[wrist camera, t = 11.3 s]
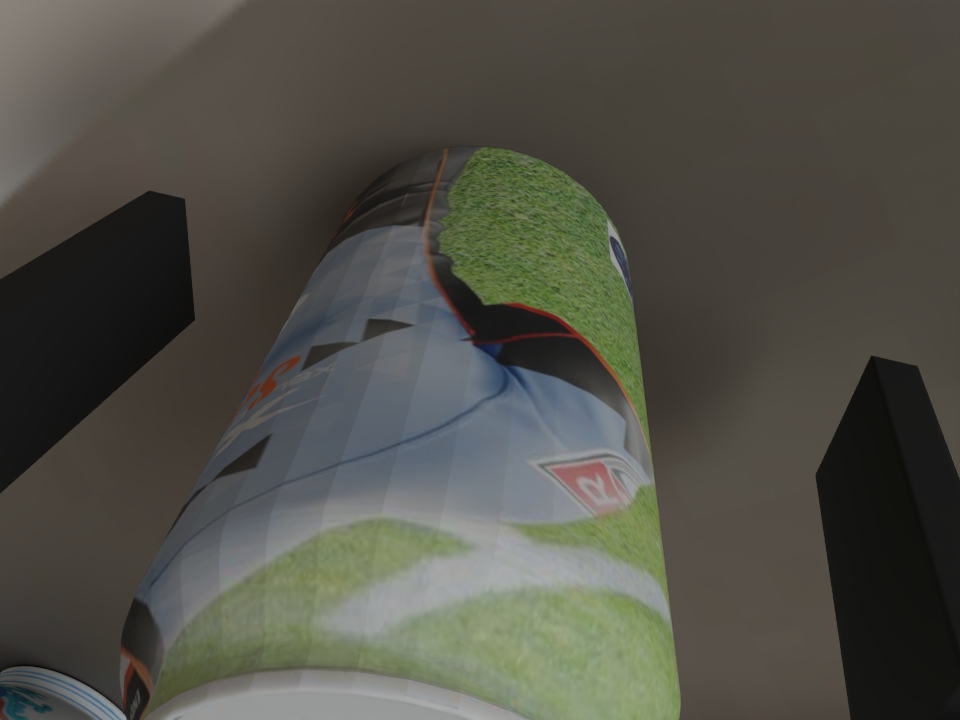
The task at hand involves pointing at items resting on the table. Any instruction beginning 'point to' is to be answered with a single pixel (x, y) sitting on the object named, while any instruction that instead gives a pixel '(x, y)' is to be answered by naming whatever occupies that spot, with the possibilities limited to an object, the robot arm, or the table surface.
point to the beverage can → (428, 480)
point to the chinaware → (51, 697)
